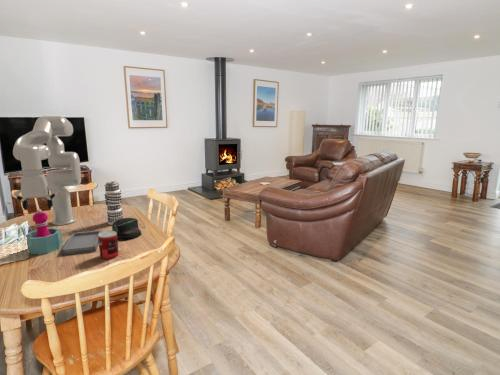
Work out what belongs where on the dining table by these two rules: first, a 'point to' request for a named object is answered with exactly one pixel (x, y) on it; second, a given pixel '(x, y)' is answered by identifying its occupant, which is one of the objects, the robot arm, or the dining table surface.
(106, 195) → the gray white banded cylinder
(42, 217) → the pepper mill
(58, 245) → the crock
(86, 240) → the tray
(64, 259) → the dining table surface
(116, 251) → the canned food
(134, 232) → the black hat
